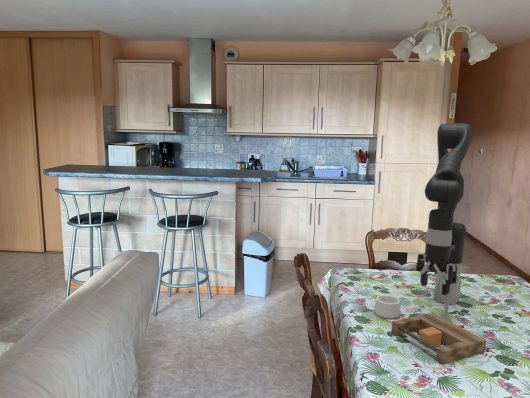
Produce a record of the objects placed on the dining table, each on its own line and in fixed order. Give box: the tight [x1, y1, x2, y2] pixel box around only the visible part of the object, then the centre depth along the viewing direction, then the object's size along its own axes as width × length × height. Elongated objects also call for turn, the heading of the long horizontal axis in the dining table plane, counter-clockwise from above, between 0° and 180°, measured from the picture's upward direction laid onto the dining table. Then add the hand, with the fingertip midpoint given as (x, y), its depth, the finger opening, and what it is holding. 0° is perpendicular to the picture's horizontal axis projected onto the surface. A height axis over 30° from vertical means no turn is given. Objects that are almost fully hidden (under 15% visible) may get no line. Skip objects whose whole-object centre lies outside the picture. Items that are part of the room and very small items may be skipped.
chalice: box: [439, 272, 462, 323], centre depth 153 cm, size 7×7×18 cm
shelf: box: [390, 312, 487, 365], centre depth 139 cm, size 19×22×4 cm
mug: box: [373, 294, 401, 320], centre depth 160 cm, size 12×10×6 cm
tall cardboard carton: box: [417, 327, 442, 349], centre depth 138 cm, size 6×4×4 cm, turn 115°
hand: (434, 289), depth 136 cm, fingers open, 8 cm apart
